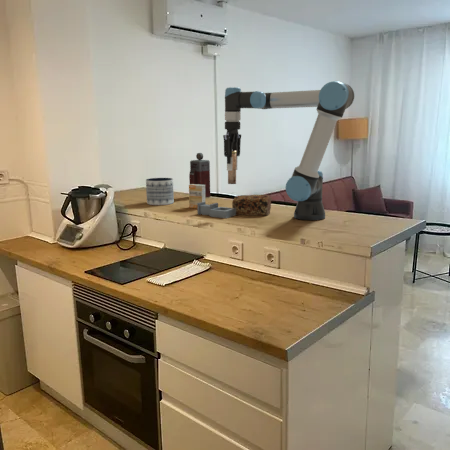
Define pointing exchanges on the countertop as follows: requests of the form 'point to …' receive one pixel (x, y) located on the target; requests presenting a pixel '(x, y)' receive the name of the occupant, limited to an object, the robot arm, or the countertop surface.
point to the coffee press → (200, 173)
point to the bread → (252, 204)
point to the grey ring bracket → (215, 210)
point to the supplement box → (196, 195)
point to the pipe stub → (232, 173)
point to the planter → (159, 191)
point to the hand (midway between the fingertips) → (232, 169)
